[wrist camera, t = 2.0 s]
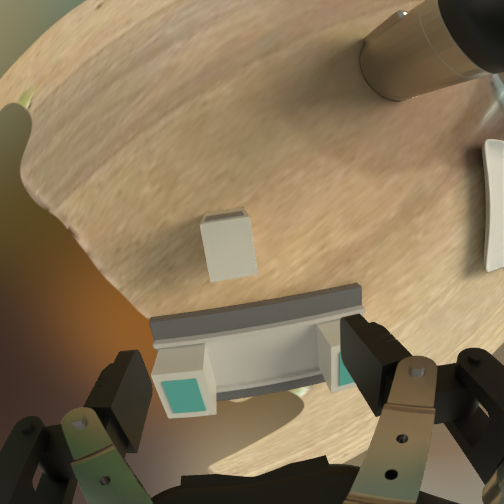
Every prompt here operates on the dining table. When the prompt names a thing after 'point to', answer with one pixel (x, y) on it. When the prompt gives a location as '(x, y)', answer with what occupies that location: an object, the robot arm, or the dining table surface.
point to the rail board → (251, 349)
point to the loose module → (228, 244)
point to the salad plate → (494, 203)
